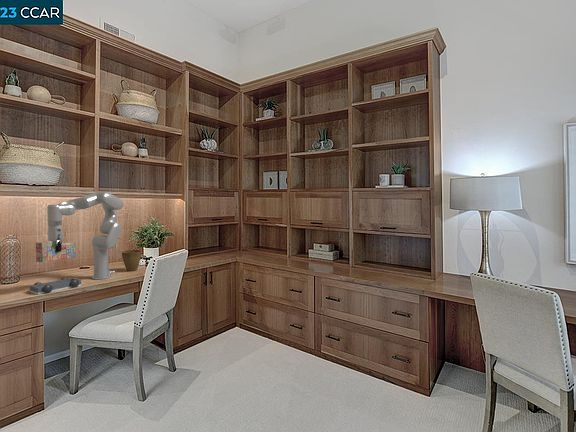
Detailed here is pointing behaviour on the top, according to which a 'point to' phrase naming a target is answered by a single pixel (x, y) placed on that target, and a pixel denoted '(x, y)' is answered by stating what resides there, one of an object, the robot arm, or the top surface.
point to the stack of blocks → (53, 251)
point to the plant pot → (131, 259)
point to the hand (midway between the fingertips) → (55, 251)
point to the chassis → (54, 285)
